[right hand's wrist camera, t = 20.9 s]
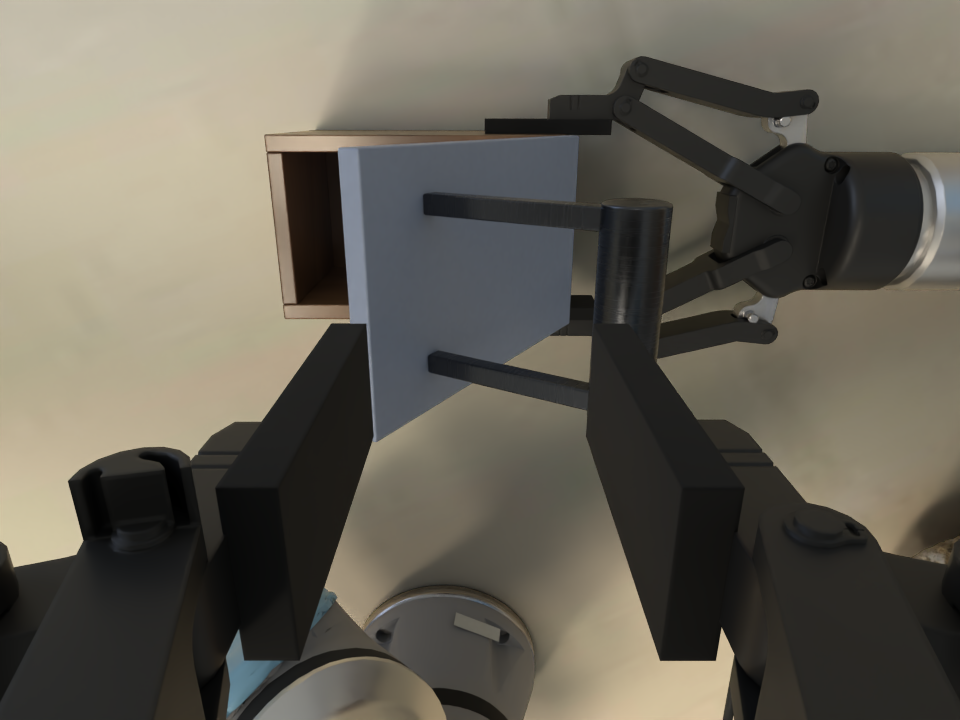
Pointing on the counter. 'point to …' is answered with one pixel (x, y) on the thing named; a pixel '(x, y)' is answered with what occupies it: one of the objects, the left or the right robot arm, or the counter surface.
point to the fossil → (938, 552)
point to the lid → (484, 266)
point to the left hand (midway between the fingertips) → (484, 221)
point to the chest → (325, 210)
